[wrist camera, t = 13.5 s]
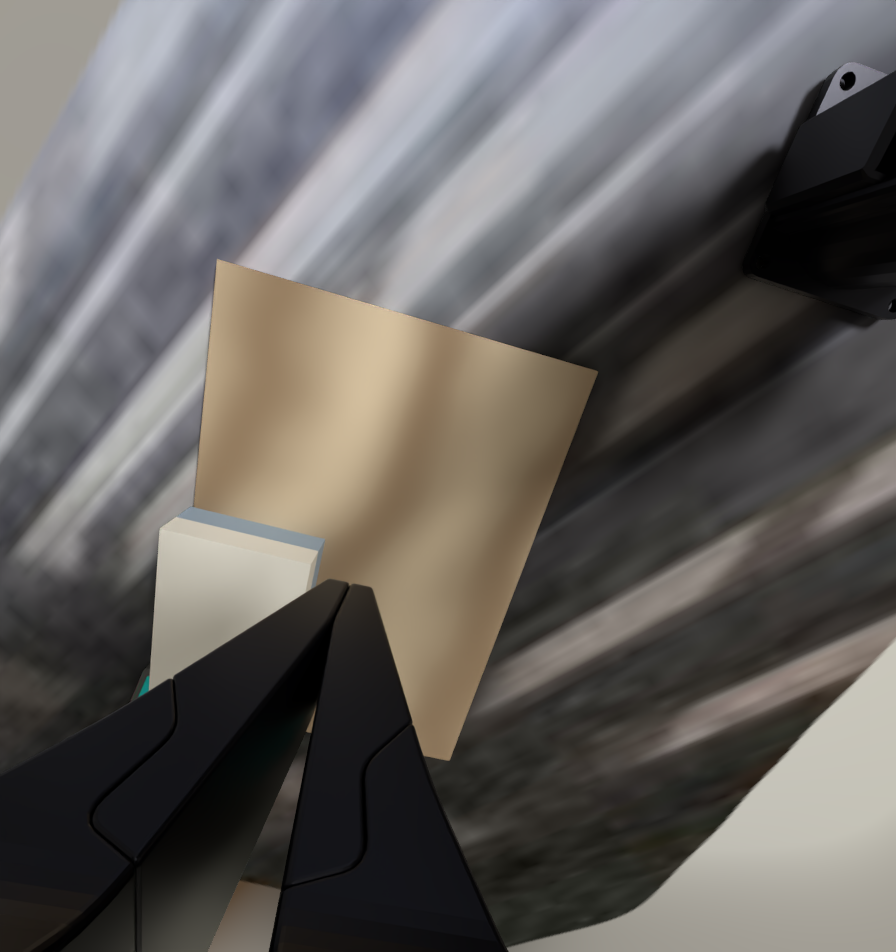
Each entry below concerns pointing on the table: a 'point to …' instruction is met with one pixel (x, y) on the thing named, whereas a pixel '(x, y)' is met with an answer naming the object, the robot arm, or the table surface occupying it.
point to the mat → (388, 464)
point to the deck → (222, 583)
